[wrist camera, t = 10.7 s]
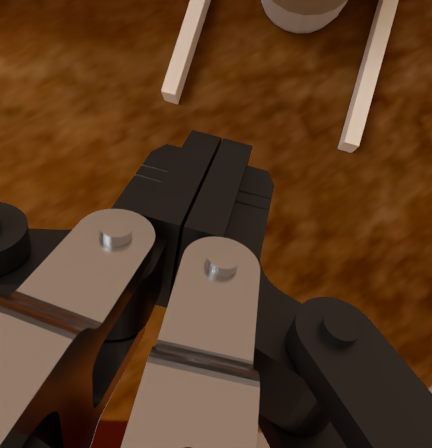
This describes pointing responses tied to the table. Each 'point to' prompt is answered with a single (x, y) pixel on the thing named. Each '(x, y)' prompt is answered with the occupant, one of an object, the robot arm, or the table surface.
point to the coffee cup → (302, 13)
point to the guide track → (363, 83)
